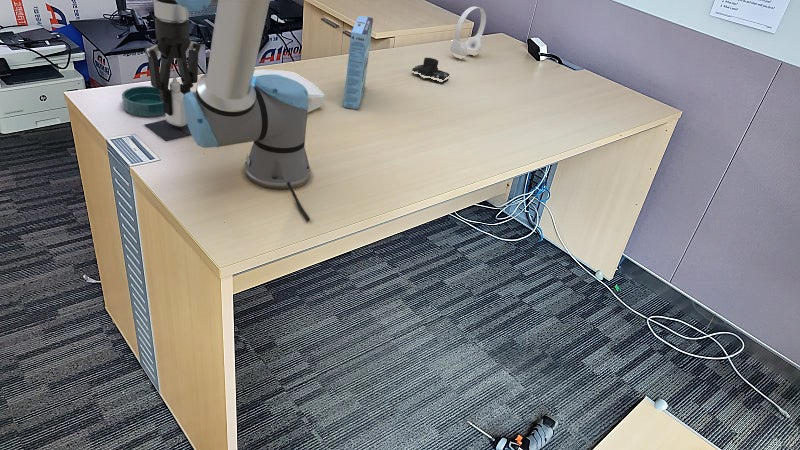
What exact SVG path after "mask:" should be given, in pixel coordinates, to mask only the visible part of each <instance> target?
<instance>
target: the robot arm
mask: <svg viewBox="0 0 800 450" xmlns="http://www.w3.org/2000/svg"><path fill="white" fill-rule="evenodd" d="M270 3H271V0H153V12H154V17H155V18H154V30H155V31H154V32H155V37H156V38H155V41H154V44H153V45H152V46H150V47H149V46H146V47H145V48H144V52H145V55H146V56H147V61H148V62H147V63H148V69H149V77H150V78H149V79H150V85H151V87H154V88H156V89H157V90H160V100H161V101H162V102H163V106H164V112H165V113H166V114H168V115H169V116H171V115H172V95H171V90H170V88H169V87H170V78H171V71H172V70H171V69H172V64H173V63H174V59H176V63H177V68H178V71H179V72H178V73H179V77H180V81H181V83H180V92H182V93H183V94H184V97H183V107H184V113H185V117H186V121H187V124H188V127H189V130H190V132H191V135H190V136H191V137H192V139H193V141H194V142H195V143H196V144H197V145H198V146H199V147H201V148H204V149H208V148H221V147H227V146H234V145H239V144H246V143H252V142H253V143H252V145H251V148H250V152H249V154H247V155H246V158H245V162H244V176H245V177H246V179H247V180H248V181H249V182H250V183H251V184H254V185H255V186H257V187H260V188H264V189H266V190H267V189H268V190H273V191H288V190H289V191H290V193H291V195H292V196H293V198H294V201H295V203H296V205H297V207H298V209H299V211H300V213H301V214H302V215H303V217H304V218H305V219H306V221H307V222H310V221H311V218H310V216H309V215H308V214H307V212H306V211H305V210H304V207H303V206H302V204H301V202H300V200H299V198H298V196H297V194H296V192H295V190H294V189H298V188H300V187H303V186H305V185H306V184H307V183H308V182H309V180H310V179H311V178H310V177H311V166H310V163H309V159H308V155H307V151H306V145H305V144H306V135H307V121H308V113H309V112H308V109H309V106H308V91H307V89H306V88H305V87H304V86H303V85H302V84H300V83H299V82H297V81H295V80H292V79H289V78H286V77H282V76H277V75H261V76H259V77H257V78H256V80H255V82H254V84H255V86H252V85H251V83H252V78H253V74H254V70H256V69H255V68H256V65H257V60H258V55H259V51H260V47H261V42H262V39H263V34H264V29H265V24H266V19H267V16H268V11H269V7H270ZM209 6H210V7H211V6H212V7H213V6H216V12H215V17H214V24H213V31H212V38H211V45H210V50H209V58H208V66H207V69H206V73H205V74H203V75H202V76H200V78H199V54H200V50H201V47H202V46H201V44H200V43H198V42H197V41H195V40H191V39H190V34H191V33H190V21H189V19H190V11H191V12H201V11H203V10H205V9H207V8H208V7H209ZM187 51H188V53H187ZM159 52H160V56H159ZM187 54H188V55H187ZM158 56H159V57H160V62H159V58H158ZM187 56H188V57H187ZM159 63H160V64H159ZM198 78H199V79H198ZM194 84H196V89H195V90H196V91H192V90H191V88H193V87H194ZM307 112H308V113H307ZM166 114H165V115H166Z"/></svg>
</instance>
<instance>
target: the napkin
mask: <svg viewBox="0 0 800 450" xmlns="http://www.w3.org/2000/svg"><path fill="white" fill-rule="evenodd" d="M144 126H145V127H146V128H147V129H149V130H150V131H151V132H152V133H154V134H156V135H157V136H158V137H160V138H161V139H162V140H164V141H165V142H168V141H169V142H170V141H172V140H175V139H180V138H185V137H189V136H192V135H191V132H190V130H189V127H188V124H187V125H184V126H182V127H180V126H175V125H172V124H170V123H168V122H167V121H166V119H163V120H158V121H154V122H150V123H145V124H144Z"/></svg>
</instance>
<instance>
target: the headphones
mask: <svg viewBox="0 0 800 450" xmlns="http://www.w3.org/2000/svg"><path fill="white" fill-rule="evenodd" d="M476 9H479V11H480V22H479V27H478V31H477V32H476V34H475V35H474V36H470V37H469V38H468V39H466V41H465V42H463V41H461V33H462V28H463V25H464V22H465V20H466V19H467V17H468V15H469V14H470V13H471V12H472V11H473V10H476ZM486 24H487V14H486V11H485V10H484V9H483V8H482V7H479V6H470V7H468V8H466V9H465V10H464V11H463V13H462V14H461V15H460V17H459V18H458V21H457V24H456V26H455V31H454V39H453V41H452V44H451V45H450V47H449V50H450V53H451V52H453V53H455V54H458V55H461V56H466V55H467V56H468V49H470V50H472V51H475V52H478V51H480V52H481V51H482V48H483V34H484V31H485V28H486ZM471 48H473V49H471ZM467 56H466V57H467Z"/></svg>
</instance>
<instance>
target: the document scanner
mask: <svg viewBox="0 0 800 450" xmlns="http://www.w3.org/2000/svg"><path fill="white" fill-rule="evenodd" d="M261 75H277V76H282V77H286V78H289V79H292V80H295V81H297V82H299V83H300V84H302V85H303V86H304V87H305V88H306V89H307V91H308V106H309V109H308V112H307V114H308V113H310V112H312V111H314V110H317V109H318V108H321V107H323V106H324V103H325V94H324V92H323V91H321V90H320V88H319V87H318V86H317V85H316V84H315V83H313V82H311V80H308V79H306V78H305V77H303V76H301V75H300V74H298V73H296V71H289V70H288V71H287V70H283V69H280V70H279V69H264V68H263V69H262V68H260V69H254V74H253V78H252V83H251V85H252V86H255V84H254V82H255V80H256V78H257V77H259V76H261Z"/></svg>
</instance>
